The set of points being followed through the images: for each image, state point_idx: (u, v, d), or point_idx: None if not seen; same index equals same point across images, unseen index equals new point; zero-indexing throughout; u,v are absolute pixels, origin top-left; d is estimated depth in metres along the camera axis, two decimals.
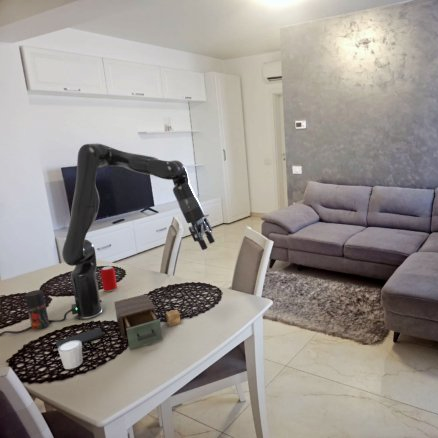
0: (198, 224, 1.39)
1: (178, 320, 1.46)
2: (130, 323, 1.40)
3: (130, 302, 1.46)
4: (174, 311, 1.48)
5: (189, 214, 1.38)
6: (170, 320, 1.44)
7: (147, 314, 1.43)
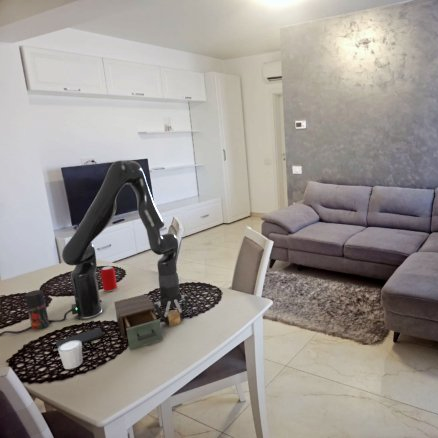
0: (165, 301, 1.43)
1: (178, 320, 1.46)
2: (130, 323, 1.40)
3: (130, 302, 1.46)
4: (174, 311, 1.48)
5: None
6: (170, 320, 1.44)
7: (147, 314, 1.43)
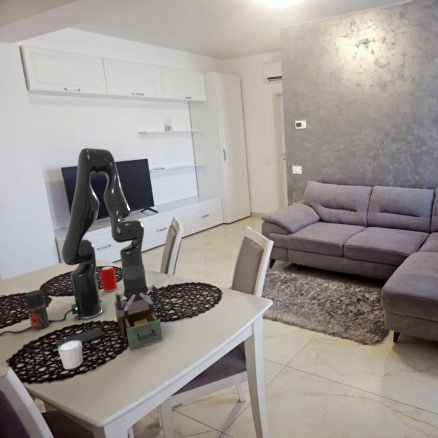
0: (129, 294, 1.30)
1: None
2: (130, 323, 1.40)
3: None
4: (143, 321, 1.36)
5: (123, 281, 1.29)
6: None
7: (147, 314, 1.43)
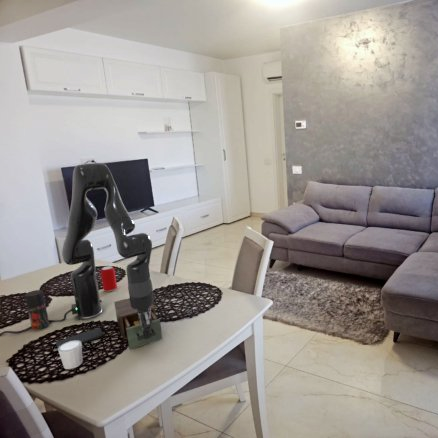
0: (148, 311, 1.22)
1: None
2: (130, 323, 1.40)
3: None
4: None
5: (144, 299, 1.19)
6: None
7: None
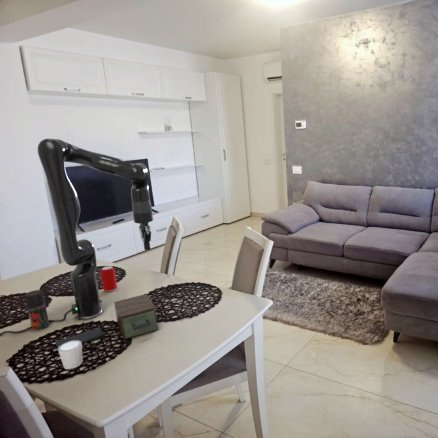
0: None
1: None
2: None
3: (130, 302, 1.46)
4: None
5: (144, 215, 1.50)
6: None
7: None
